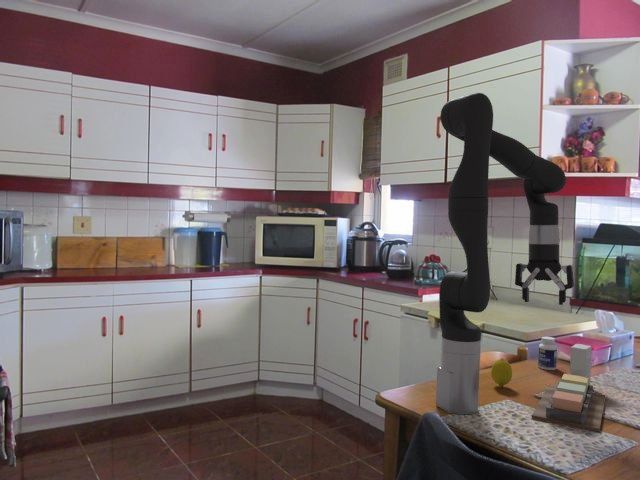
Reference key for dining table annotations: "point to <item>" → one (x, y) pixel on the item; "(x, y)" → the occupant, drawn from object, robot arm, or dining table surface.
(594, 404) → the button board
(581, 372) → the skincare box
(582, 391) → the pad sage
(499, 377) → the lemon
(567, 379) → the pad ochre
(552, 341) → the pill bottle
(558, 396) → the pad terracotta
